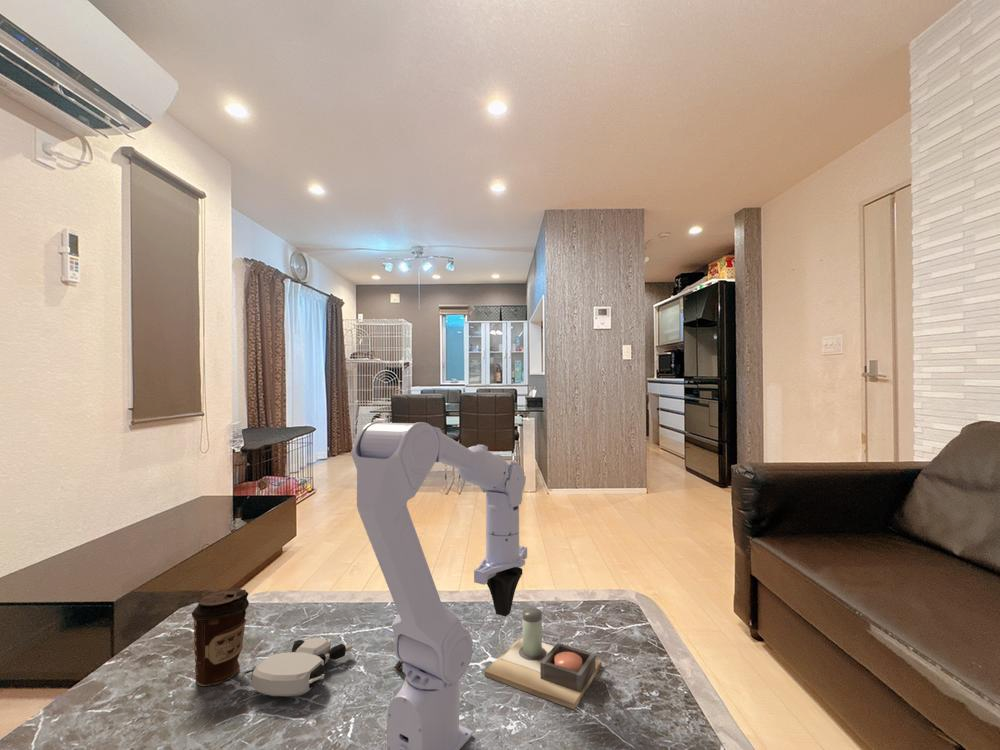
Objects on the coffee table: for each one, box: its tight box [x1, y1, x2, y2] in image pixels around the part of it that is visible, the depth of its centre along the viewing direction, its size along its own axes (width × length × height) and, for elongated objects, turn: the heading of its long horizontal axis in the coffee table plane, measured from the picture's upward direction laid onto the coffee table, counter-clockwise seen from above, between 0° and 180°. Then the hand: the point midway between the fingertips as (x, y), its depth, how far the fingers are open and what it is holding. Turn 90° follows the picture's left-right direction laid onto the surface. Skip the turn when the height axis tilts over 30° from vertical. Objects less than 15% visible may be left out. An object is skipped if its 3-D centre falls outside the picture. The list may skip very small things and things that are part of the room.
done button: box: [555, 652, 582, 672], centre depth 72 cm, size 5×5×2 cm
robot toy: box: [238, 637, 353, 697], centre depth 72 cm, size 12×4×15 cm
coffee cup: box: [191, 587, 250, 687], centre depth 73 cm, size 9×8×13 cm
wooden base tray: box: [484, 636, 602, 710], centre depth 74 cm, size 13×16×3 cm
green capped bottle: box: [522, 607, 543, 658], centre depth 78 cm, size 4×4×7 cm
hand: (502, 613), depth 73 cm, fingers closed
